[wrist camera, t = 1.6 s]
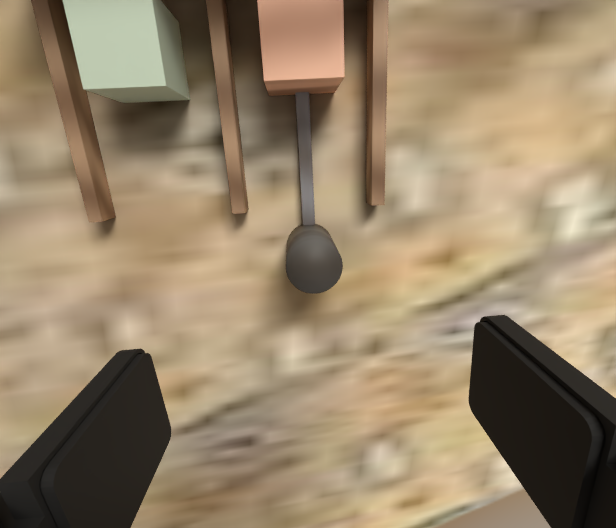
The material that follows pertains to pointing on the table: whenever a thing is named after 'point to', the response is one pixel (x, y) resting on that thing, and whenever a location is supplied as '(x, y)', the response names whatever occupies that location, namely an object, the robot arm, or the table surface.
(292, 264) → the pull block
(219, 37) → the lane rack
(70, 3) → the sage block
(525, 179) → the table surface
